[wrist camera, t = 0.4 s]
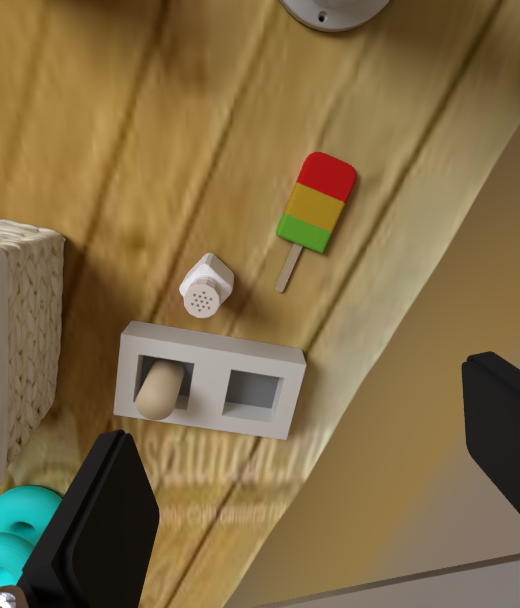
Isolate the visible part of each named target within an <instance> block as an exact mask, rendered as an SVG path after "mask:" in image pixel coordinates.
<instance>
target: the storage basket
mask: <svg viewBox="0 0 520 608" xmlns="http://www.w3.org/2000/svg"><path fill="white" fill-rule="evenodd" d="M65 241H66V239H65V238H63V236H62V234H61V233H58V232H56V231H54V230H51V229H46V228H38V227H36V226H33V225H28V224H21V223H17V222H15V221H10V220H4V219H3V220H0V485H1V484H2V483H3V482H4V480H5V475H6V470H7V468H8V466H9V464H11V463H12V462H13V460H14V459H15V457H16V455H18V453H19V452H20V451H21V450H22V447H23V446H25V445H26V444H27V442H28V441H29V439H30V437H31V435H32V433H33V432H34V431H35V430H36V429H37V428H38V426H39V425H40V421H41V419H43V418H44V417H45V415H46V414H47V412H48V411H49V409H50V407H51V406H52V405H53V403H54V399H55V389H56V384H57V381H56V378H57V374H58V359H59V355H60V351H61V343H60V339H61V333H62V320H61V313H62V298H61V297H62V292H63V276H62V275H63V263H64V258H63V252H64V242H65Z"/></svg>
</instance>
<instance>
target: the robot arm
mask: <svg viewBox="0 0 520 608" xmlns="http://www.w3.org/2000/svg"><path fill="white" fill-rule="evenodd" d="M279 1H280V2H281V3H282V5H283V6H284V7H285V9H286V10H287V11H288V12H289V13H290V14H291V15H292V16H293V17H294V18H295V19H297V20H298V21H299V22H301V23H303V24H305V25H306V26H308V27H310V28H313V29H316V30H319V31H324V32H341V31H348V30H350V29H353V28H356V27H358V26H361V25H362V24H364V23H366V22H367V21H369V20H370V19H372V18H373V17H374V16H375V15H376V14H377V13H378V12H380V11H381V10H382V9H383V8H384V6H385V5H386V4H387V3H388V2H389V0H279ZM320 17H322V18H323V20H324V22H320V21H319V18H320ZM462 383H463V399H464V416H465V431H466V445H467V449H468V451H469V453H470V455H471V457H472V458H473V459H474V460H475V462H476V463H477V464H478V465H479V466H480V467H481V469H482V470H483V471H484V472H485V473H486V475H487V476H488V477H489V478H490V479H491V481H492V482H493V483H494V484H495V485H496V486H497V487H498V489H499V490H500V491H501V492H502V494H503V495H504V496H505V497H506V498H507V499H508V501H509V502H510V503H511V504H512V505H513V507H514V508H515V509H516V510H517V511H518V512H519V514H520V370H519V369H518V368H516V367H515V366H513V365H512V364H510V363H509V362H507V361H506V360H504V359H503V358H501V357H500V356H498V355H497V354H495V353H494V352H491V351H490V352H484V353H480V354H475V355H470V356H468V358H467V362H464V363H463V364H462ZM159 518H160V515H159V508H158V505H157V502H156V499H155V497H154V494H153V491H152V489H151V486H150V483H149V480H148V478H147V475H146V472H145V470H144V467H143V464H142V461H141V459H140V456H139V453H138V451H137V448H136V445H135V443H134V440H133V437H132V435H131V434H130V433H127V434H125V432H124V431H123V430H116V431H111V432H107V433H102V434H100V435H99V436H98V438H97V440H96V442H95V443H94V445H93V447H92V449H91V450H90V452H89V454H88V455H87V457H86V459H85V461H84V462H83V464H82V466H81V468H80V469H79V471H78V473H77V475H76V476H75V478H74V480H73V482H72V483H71V485H70V487H69V488H68V490H67V492H66V494H65V495H64V497H63V499H62V501H61V502H60V504H59V506H58V508H57V509H56V511H55V513H54V515H53V516H52V518H51V520H50V521H49V523H48V525H47V527H46V528H45V530H44V532H43V534H42V535H41V537H40V539H39V541H38V542H37V544H36V546H35V548H34V549H33V551H32V553H31V554H30V556H29V558H28V560H27V561H26V563H25V565H24V567H23V568H22V572H23V573H22V575H21V577H20V578H19V580H18V582H17V584H16V586H15V585H6V586H1V587H0V608H138V605H139V601H140V597H141V593H142V589H143V585H144V581H145V577H146V573H147V569H148V565H149V561H150V557H151V553H152V549H153V545H154V541H155V537H156V533H157V529H158V525H159ZM248 608H520V554H515V555H509V556H504V557H499V558H494V559H489V560H483V561H478V562H473V563H468V564H463V565H458V566H453V567H447V568H442V569H437V570H432V571H427V572H422V573H416V574H411V575H406V576H401V577H396V578H392V579H386V580H381V581H376V582H372V583H366V584H361V585H356V586H351V587H346V588H342V589H336V590H332V591H326V592H321V593H317V594H311V595H307V596H302V597H297V598H292V599H287V600H282V601H277V602H272V603H267V604H262V605H257V606H253V607H248Z"/></svg>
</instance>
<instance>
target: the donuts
mask: <svg viewBox="0 0 520 608" xmlns="http://www.w3.org/2000/svg"><path fill="white" fill-rule="evenodd" d="M61 501H62V498H61V497H60V496H58V495H57V494H56V493H54V492H52V491H51V490H49V489H46V488H43V487H39V486H19V487H16V488H13V489H10V490H8V491H6V492H5V493H3V494H2V495H1V496H0V587H1V586H6V585H15V586H16V584H17V582H18V580H19V578H20V577H21V575H22V573H23V572H22V568H23V567H24V565H25V563H26V561H27V560H28V558H29V556H30V554H31V553H32V551H33V549H34V548H35V546H36V544H37V542H38V541H39V539H40V537H41V535H42V534H43V532H44V530H45V528H46V527H47V525H48V523H49V521H50V520H51V518H52V516H53V515H54V513H55V511H56V509H57V508H58V506H59V504H60V502H61ZM24 522H26V523H29V524H31V525H29V524H26V523H24Z"/></svg>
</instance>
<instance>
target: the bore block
mask: <svg viewBox="0 0 520 608" xmlns="http://www.w3.org/2000/svg"><path fill="white" fill-rule="evenodd" d="M305 368H306V362H305V359H304V356H303V353H302V350H301V349H297V348H291V347H285V346H280V345H274V344H268V343H262V342H256V341H250V340H245V339H239V338H233V337H227V336H221V335H215V334H210V333H204V332H198V331H192V330H186V329H180V328H175V327H169V326H163V325H157V324H151V323H145V322H139V321H134V320H132V321H131V322H130V323H129V324H128V326H127V327H126V328H125V330H124V331H123V332H122V333H121V340H120V350H119V361H118V371H117V381H116V392H115V402H114V412H113V415H119V416H126V417H133V418H140V419H146V420H153V421H160V422H167V423H174V424H180V425H187V426H194V427H201V428H208V429H215V430H221V431H228V432H235V433H242V434H249V435H255V436H262V437H269V438H276V439H283V440H286V439H287V436H288V432H289V428H290V424H291V421H292V417H293V413H294V410H295V406H296V402H297V398H298V395H299V391H300V387H301V383H302V380H303V376H304V372H305Z"/></svg>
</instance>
